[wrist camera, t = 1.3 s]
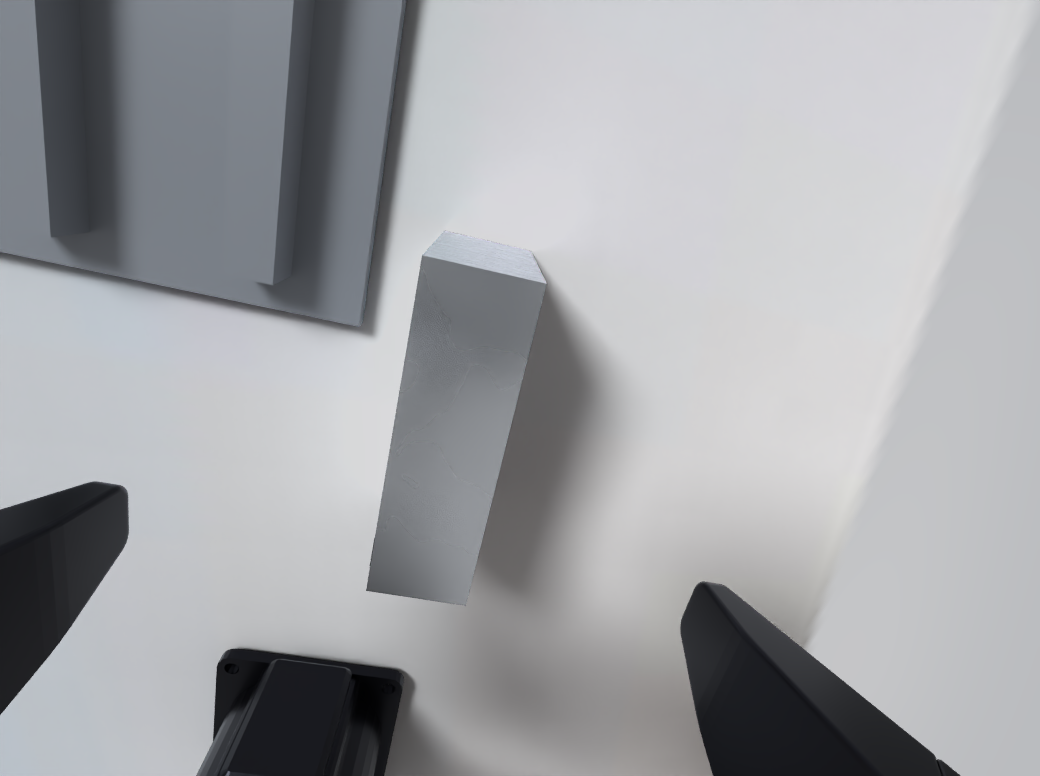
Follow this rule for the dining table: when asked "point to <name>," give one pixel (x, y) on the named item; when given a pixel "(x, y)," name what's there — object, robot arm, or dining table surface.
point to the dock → (201, 143)
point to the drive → (453, 414)
